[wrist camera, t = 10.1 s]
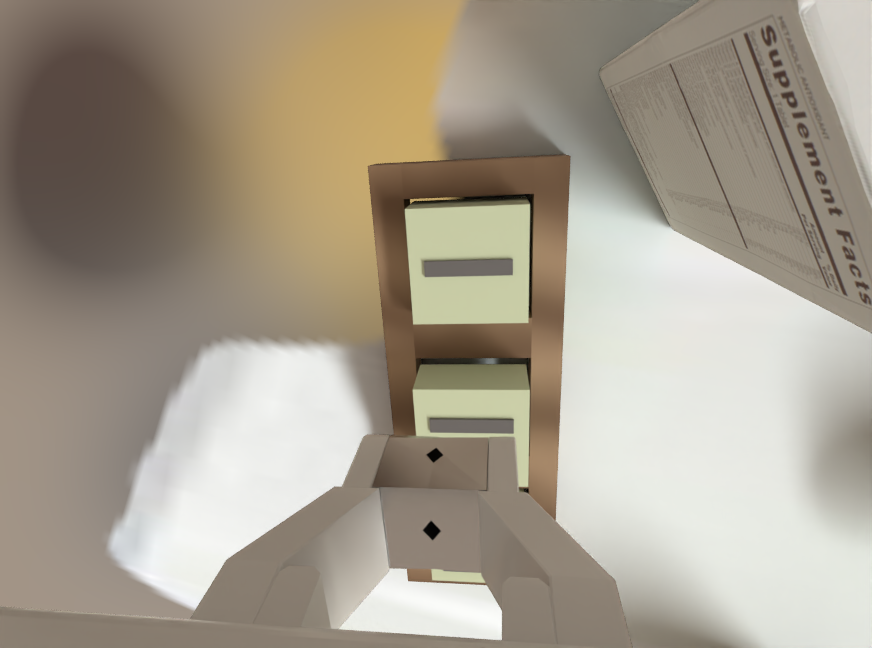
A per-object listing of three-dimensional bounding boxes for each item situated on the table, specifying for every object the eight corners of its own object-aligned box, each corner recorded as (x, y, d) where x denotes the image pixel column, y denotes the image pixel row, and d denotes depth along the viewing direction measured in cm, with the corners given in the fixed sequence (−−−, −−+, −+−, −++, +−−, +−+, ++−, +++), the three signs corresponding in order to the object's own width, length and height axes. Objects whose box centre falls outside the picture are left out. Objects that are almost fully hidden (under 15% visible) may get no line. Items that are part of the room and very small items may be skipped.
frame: (376, 163, 27) (367, 166, 25) (564, 154, 26) (570, 155, 24) (412, 558, 37) (408, 581, 35) (549, 564, 36) (552, 588, 34)
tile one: (413, 201, 27) (404, 209, 24) (526, 196, 26) (530, 204, 23) (420, 305, 29) (412, 325, 26) (524, 304, 28) (528, 324, 25)
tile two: (420, 364, 29) (412, 390, 26) (526, 364, 28) (530, 391, 25) (426, 452, 31) (419, 485, 28) (524, 454, 30) (528, 488, 27)
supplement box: (855, 138, 24) (1524, 150, 8) (671, 235, 27) (925, 381, 11) (787, -60, 22) (1551, -556, 6) (591, 67, 24) (774, -53, 9)
